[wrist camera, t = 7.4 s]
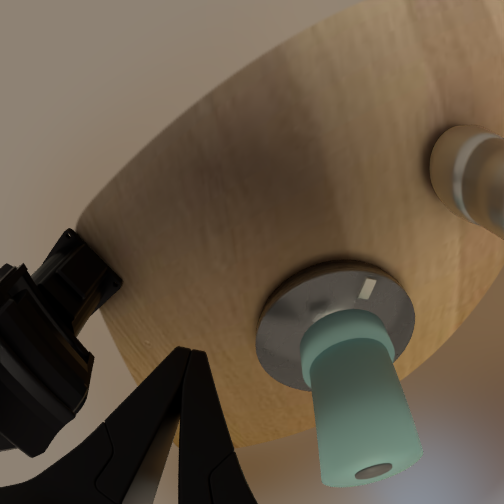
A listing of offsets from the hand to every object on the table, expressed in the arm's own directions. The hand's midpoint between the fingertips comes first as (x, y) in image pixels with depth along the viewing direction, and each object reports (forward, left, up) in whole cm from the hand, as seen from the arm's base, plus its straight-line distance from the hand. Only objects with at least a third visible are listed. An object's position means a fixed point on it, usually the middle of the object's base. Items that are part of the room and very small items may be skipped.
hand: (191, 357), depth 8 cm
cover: (0, -13, -11) cm, 17 cm away
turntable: (0, -13, -12) cm, 18 cm away
